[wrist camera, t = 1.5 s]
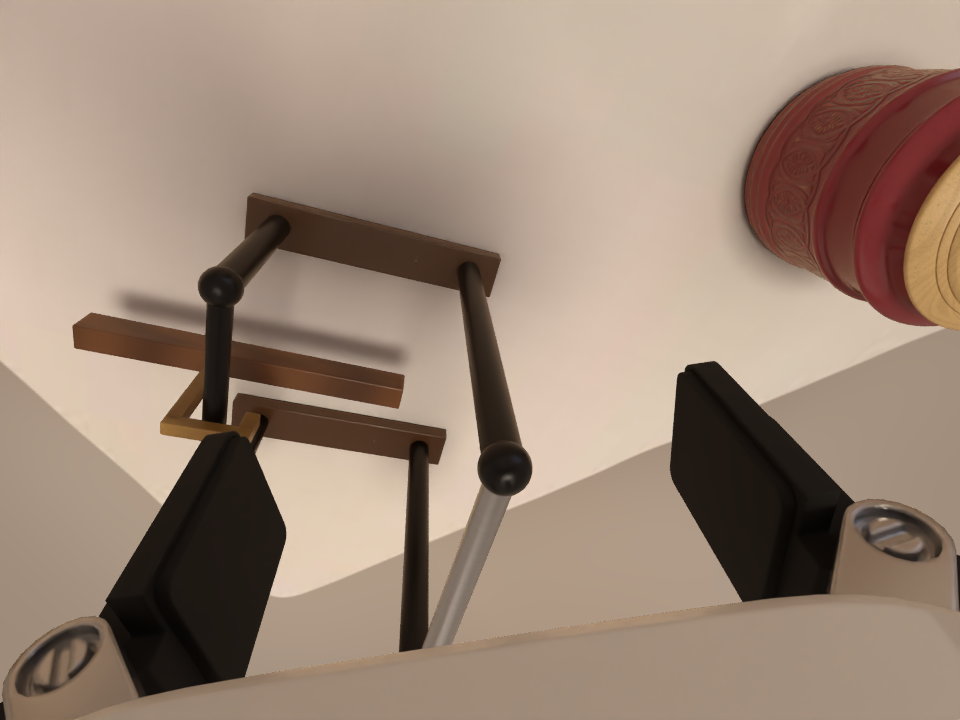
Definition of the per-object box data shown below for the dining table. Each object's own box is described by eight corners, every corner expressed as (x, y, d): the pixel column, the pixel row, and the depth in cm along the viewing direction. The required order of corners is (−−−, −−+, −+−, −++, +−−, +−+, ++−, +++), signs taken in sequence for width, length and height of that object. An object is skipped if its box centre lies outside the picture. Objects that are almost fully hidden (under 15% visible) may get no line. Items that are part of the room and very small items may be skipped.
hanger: (92, 334, 34) (-10, 413, 26) (90, 311, 33) (-15, 386, 25) (400, 393, 38) (391, 478, 30) (404, 374, 37) (396, 456, 29)
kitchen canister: (924, 26, 33) (1348, -5, 18) (925, 214, 39) (1242, 311, 24) (723, 121, 35) (952, 166, 20) (754, 287, 41) (948, 419, 26)
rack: (235, 423, 43) (68, 731, 23) (252, 192, 35) (13, 367, 15) (437, 456, 47) (444, 750, 27) (499, 253, 38) (576, 463, 18)
